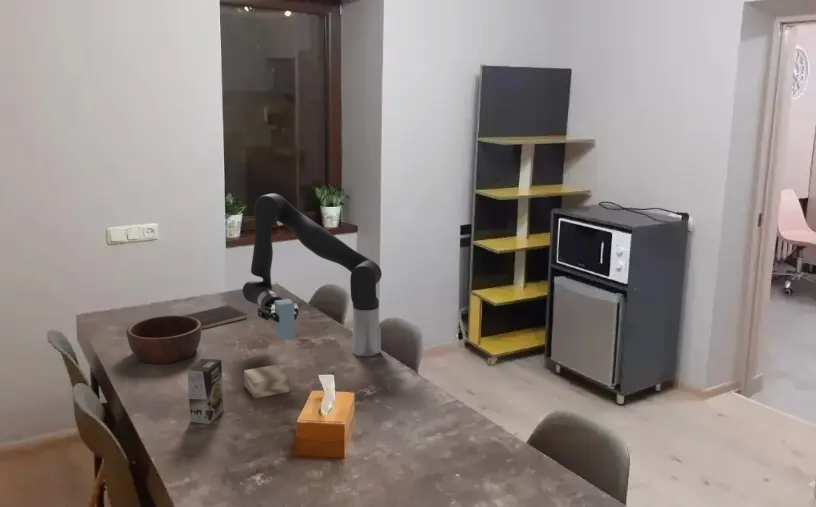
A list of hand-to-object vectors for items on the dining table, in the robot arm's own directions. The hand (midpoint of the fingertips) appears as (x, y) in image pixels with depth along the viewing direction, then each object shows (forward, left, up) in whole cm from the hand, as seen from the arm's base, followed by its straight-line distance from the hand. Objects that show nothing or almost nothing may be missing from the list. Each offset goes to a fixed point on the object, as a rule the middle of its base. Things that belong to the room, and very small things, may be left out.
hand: (286, 318), depth 229 cm
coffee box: (+30, +18, -20) cm, 41 cm away
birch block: (+9, +7, -20) cm, 23 cm away
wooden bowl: (+32, -37, -20) cm, 53 cm away
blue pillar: (0, -2, -7) cm, 7 cm away
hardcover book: (+9, -67, -21) cm, 71 cm away
